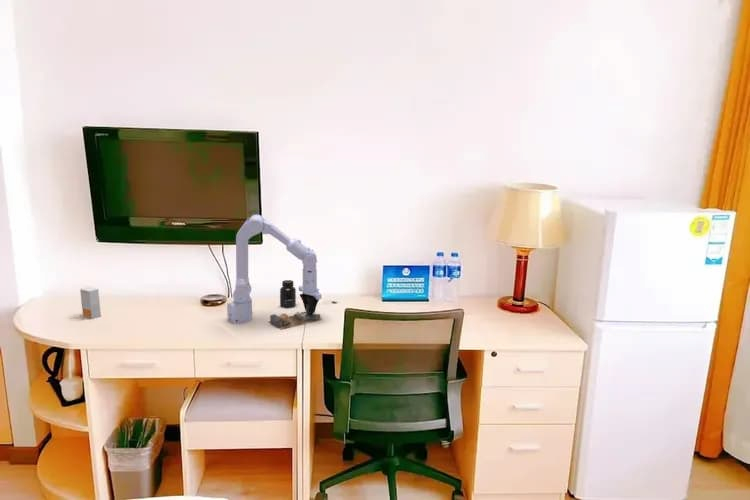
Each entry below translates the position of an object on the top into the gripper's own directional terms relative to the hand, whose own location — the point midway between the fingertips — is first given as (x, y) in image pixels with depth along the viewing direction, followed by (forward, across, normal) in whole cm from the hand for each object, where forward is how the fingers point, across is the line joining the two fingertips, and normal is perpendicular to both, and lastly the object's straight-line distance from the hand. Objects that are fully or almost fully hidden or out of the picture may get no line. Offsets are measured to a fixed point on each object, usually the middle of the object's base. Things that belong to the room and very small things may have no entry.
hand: (310, 311), depth 231 cm
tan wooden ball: (+2, 0, +12) cm, 13 cm away
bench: (+3, 0, +7) cm, 8 cm away
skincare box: (+4, +55, +71) cm, 90 cm away
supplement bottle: (+4, +18, 0) cm, 18 cm away
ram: (+2, 0, +2) cm, 3 cm away
